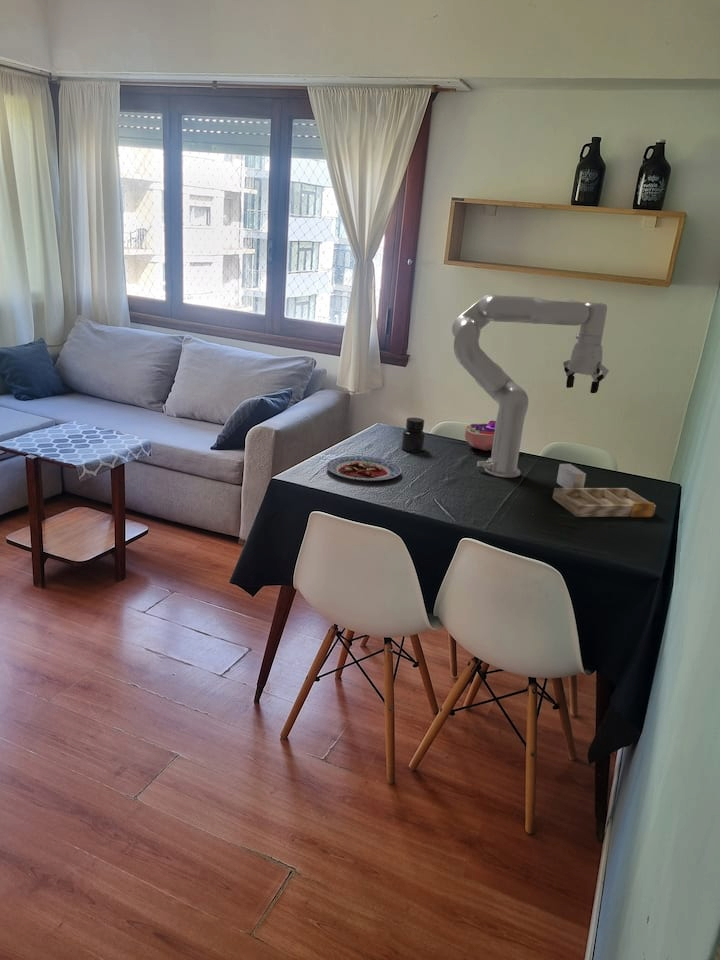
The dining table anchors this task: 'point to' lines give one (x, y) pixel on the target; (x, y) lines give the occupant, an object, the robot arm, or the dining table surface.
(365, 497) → the dining table surface
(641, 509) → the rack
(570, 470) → the grey block
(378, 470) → the ceramic plate
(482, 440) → the cell model
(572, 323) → the robot arm
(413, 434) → the ink bottle
